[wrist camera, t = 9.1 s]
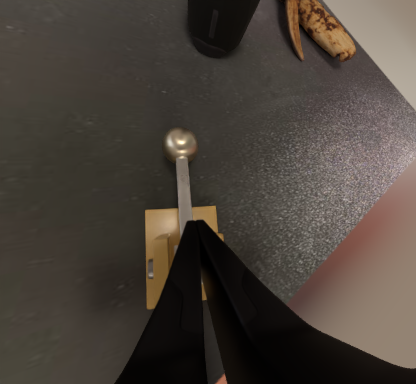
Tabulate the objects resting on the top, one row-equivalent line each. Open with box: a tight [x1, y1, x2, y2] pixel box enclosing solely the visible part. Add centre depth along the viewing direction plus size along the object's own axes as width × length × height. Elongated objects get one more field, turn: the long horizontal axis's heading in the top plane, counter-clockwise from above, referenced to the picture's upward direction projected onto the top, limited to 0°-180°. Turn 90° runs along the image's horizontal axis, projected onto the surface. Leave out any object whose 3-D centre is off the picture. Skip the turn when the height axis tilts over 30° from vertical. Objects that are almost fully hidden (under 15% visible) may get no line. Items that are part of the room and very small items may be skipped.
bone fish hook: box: [280, 0, 356, 62], centre depth 29 cm, size 9×5×18 cm
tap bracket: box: [145, 206, 224, 309], centre depth 17 cm, size 10×8×9 cm
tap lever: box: [162, 127, 203, 284], centre depth 16 cm, size 14×4×4 cm, turn 5°
